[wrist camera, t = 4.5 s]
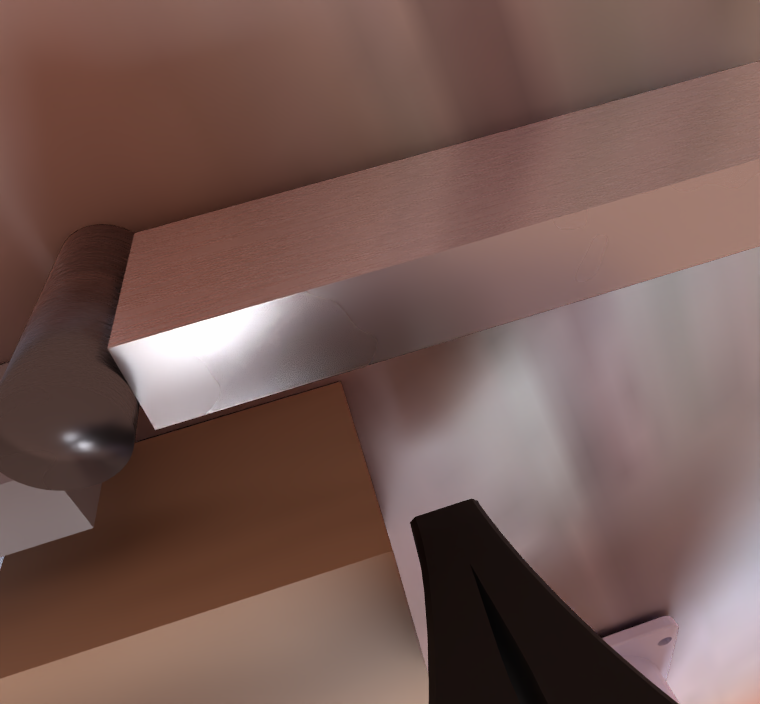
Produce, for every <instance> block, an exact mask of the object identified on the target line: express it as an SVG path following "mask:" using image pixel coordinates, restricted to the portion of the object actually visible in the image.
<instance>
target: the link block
mask: <svg viewBox="0 0 760 704" xmlns="http://www.w3.org/2000/svg"><path fill="white" fill-rule="evenodd" d="M0 704H429V675H428V672H427V668H426V665H425V661H424V658H423V654H422V651H421V647H420V644H419V640H418V637H417V633H416V630H415V626H414V623H413V619H412V616H411V612H410V609H409V605H408V602H407V598H406V595H405V591H404V588H403V584H402V581H401V577H400V574H399V570H398V567H397V563H396V560H395V556H394V553H393V550H392V546H391V543H390V540H389V537H388V533H387V530H386V527H385V523H384V520H383V517H382V514H381V510H380V507H379V504H378V501H377V497H376V494H375V491H374V488H373V484H372V481H371V478H370V475H369V471H368V468H367V465H366V461H365V458H364V455H363V452H362V448H361V445H360V442H359V439H358V435H357V432H356V429H355V426H354V422H353V419H352V416H351V413H350V409H349V406H348V403H347V400H346V396H345V393H344V390H343V386H342V383H341V381H340V382H337V383H333V384H330V385H327V386H323V387H320V388H317V389H313V390H310V391H307V392H303V393H300V394H297V395H293V396H290V397H287V398H283V399H280V400H277V401H273V402H270V403H267V404H263V405H260V406H256V407H253V408H250V409H246V410H243V411H240V412H236V413H233V414H230V415H226V416H223V417H220V418H216V419H213V420H210V421H206V422H203V423H200V424H196V425H193V426H190V427H186V428H183V429H180V430H176V431H173V432H170V433H166V434H163V435H160V436H156V437H153V438H150V439H146V440H143V441H140V442H136V443H134V449H133V452H132V455H131V457H130V460H129V461H128V463H127V464H126V466H125V467H124V468H123V469H122V470H121V471H120V472H119V473H117V474H116V475H115V476H113V477H112V478H110V479H109V480H107V481H105V482H103V483H102V486H101V491H100V496H99V502H98V507H97V513H96V518H95V523H94V528H92V529H88V530H85V531H82V532H79V533H76V534H73V535H69V536H66V537H63V538H60V539H57V540H54V541H50V542H47V543H44V544H41V545H38V546H34V547H31V548H28V549H25V550H22V551H19V552H15V553H12V554H9V555H6V556H5V557H4V560H3V563H2V566H1V569H0Z"/></svg>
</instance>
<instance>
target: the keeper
mask: <svg viewBox="0 0 760 704" xmlns="http://www.w3.org/2000/svg"><path fill="white" fill-rule="evenodd" d="M759 246H760V61H757V62H753V63H750V64H746V65H742V66H739V67H735V68H732V69H728V70H724V71H721V72H717V73H713V74H710V75H706V76H703V77H699V78H695V79H692V80H688V81H684V82H681V83H677V84H674V85H670V86H666V87H663V88H659V89H655V90H652V91H648V92H645V93H641V94H637V95H634V96H630V97H626V98H623V99H619V100H616V101H612V102H608V103H605V104H601V105H597V106H594V107H590V108H587V109H583V110H579V111H576V112H572V113H568V114H565V115H561V116H557V117H554V118H550V119H547V120H543V121H539V122H536V123H532V124H528V125H525V126H521V127H518V128H514V129H510V130H507V131H503V132H499V133H496V134H492V135H489V136H485V137H481V138H478V139H474V140H470V141H467V142H463V143H460V144H456V145H452V146H449V147H445V148H441V149H438V150H434V151H431V152H427V153H423V154H420V155H416V156H412V157H409V158H405V159H402V160H398V161H394V162H391V163H387V164H383V165H380V166H376V167H373V168H369V169H365V170H362V171H358V172H354V173H351V174H347V175H344V176H340V177H336V178H333V179H329V180H325V181H322V182H318V183H314V184H311V185H307V186H304V187H300V188H296V189H293V190H289V191H285V192H282V193H278V194H275V195H271V196H267V197H264V198H260V199H256V200H253V201H249V202H246V203H242V204H238V205H235V206H231V207H227V208H224V209H220V210H217V211H213V212H209V213H206V214H202V215H198V216H195V217H191V218H188V219H184V220H180V221H177V222H173V223H169V224H166V225H162V226H159V227H155V228H151V229H148V230H144V231H140V232H137V233H132V232H130V231H128V230H126V229H123V228H120V227H117V226H111V225H93V226H88V227H85V228H82V229H80V230H78V231H76V232H75V233H73V234H72V235H71V236H70V237H69V238H68V239H67V240H66V241H65V243H64V244H63V246H62V248H61V250H60V253H59V255H58V257H57V259H56V261H55V263H54V266H53V268H52V270H51V272H50V274H49V277H48V279H47V281H46V283H45V285H44V288H43V290H42V292H41V294H40V296H39V298H38V301H37V303H36V305H35V307H34V309H33V312H32V314H31V316H30V318H29V320H28V323H27V325H26V327H25V329H24V331H23V333H22V336H21V338H20V340H19V342H18V344H17V347H16V349H15V351H14V353H13V355H12V357H11V360H10V362H9V364H8V366H7V368H6V371H5V373H4V375H3V377H2V379H1V382H0V472H1V473H2V474H4V475H5V476H7V477H9V478H10V479H12V480H14V481H16V482H19V483H21V484H24V485H27V486H30V487H34V488H38V489H44V490H53V491H69V490H78V489H84V488H88V487H92V486H95V485H98V484H100V483H103V482H105V481H107V480H109V479H110V478H112V477H113V476H115V475H116V474H117V473H119V472H120V471H121V470H122V469H123V468H124V467H125V466H126V464H127V463H128V461H129V460H130V457H131V455H132V452H133V449H134V442H135V435H136V428H137V420H138V413H139V406H140V405H141V407H142V408H143V410H144V412H145V413H146V415H147V417H148V419H149V420H150V422H151V424H152V425H153V427H154V429H155V430H157V429H161V428H164V427H167V426H170V425H174V424H177V423H180V422H184V421H187V420H190V419H193V418H197V417H200V416H203V415H207V414H210V413H213V412H216V411H220V410H223V409H226V408H230V407H233V406H236V405H239V404H243V403H246V402H249V401H253V400H256V399H259V398H262V397H266V396H269V395H272V394H276V393H279V392H282V391H285V390H289V389H292V388H295V387H299V386H302V385H305V384H308V383H312V382H315V381H318V380H322V379H325V378H328V377H331V376H335V375H338V374H341V373H345V372H348V371H351V370H354V369H358V368H361V367H364V366H368V365H371V364H374V363H377V362H381V361H384V360H387V359H391V358H394V357H397V356H400V355H404V354H407V353H410V352H414V351H417V350H420V349H423V348H427V347H430V346H433V345H437V344H440V343H443V342H446V341H450V340H453V339H456V338H460V337H463V336H466V335H469V334H473V333H476V332H479V331H483V330H486V329H489V328H492V327H496V326H499V325H502V324H506V323H509V322H512V321H515V320H519V319H522V318H525V317H529V316H532V315H535V314H538V313H542V312H545V311H548V310H552V309H555V308H558V307H561V306H565V305H568V304H571V303H575V302H578V301H581V300H584V299H588V298H591V297H594V296H598V295H601V294H604V293H607V292H611V291H614V290H617V289H621V288H624V287H627V286H630V285H634V284H637V283H640V282H644V281H647V280H650V279H653V278H657V277H660V276H663V275H667V274H670V273H673V272H676V271H680V270H683V269H686V268H690V267H693V266H696V265H699V264H703V263H706V262H709V261H713V260H716V259H719V258H722V257H726V256H729V255H732V254H736V253H739V252H742V251H745V250H749V249H752V248H755V247H759Z"/></svg>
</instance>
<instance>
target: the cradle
mask: <svg viewBox="0 0 760 704" xmlns="http://www.w3.org/2000/svg"><path fill="white" fill-rule="evenodd" d="M8 364H9V362H8V363H5V364H2V365H0V382H1V379H2V377H3V375H4V373H5V371H6V368H7V366H8ZM101 486H102V483H100V484H98V485H95V486H92V487H88V488H84V489H78V490H69V491H53V490H44V489H38V488H34V487H30V486H27V485H24V484H21V483H19V482H16V481H14V480H12V479H10V478H9V477H7V476H5V475H4V474H2V473H1V472H0V557H3V556H6V555H9V554H12V553H15V552H19V551H22V550H25V549H28V548H31V547H34V546H38V545H41V544H44V543H47V542H50V541H54V540H57V539H60V538H63V537H66V536H69V535H73V534H76V533H79V532H82V531H85V530H88V529H92V528H94V523H95V518H96V513H97V507H98V502H99V496H100V491H101Z"/></svg>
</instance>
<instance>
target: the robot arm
mask: <svg viewBox="0 0 760 704" xmlns="http://www.w3.org/2000/svg"><path fill="white" fill-rule="evenodd" d="M410 524H411V528H412V532H413V536H414V540H415V544H416V548H417V553H418V557H419V561H420V565H421V570H422V577H423V585H424V594H425V607H426V620H427V634H428V674H429V704H680V703H679V702H678V700H677V698H676V697H675V695H674V694H673V692H672V690H671V689H670V687H669V686H668V684H667V682H666V680H667V676H668V671H669V667H670V663H671V659H672V655H673V650H674V646H675V642H676V638H677V633H678V629H679V627H678V625H677V623H676V622H675V620H674V619H673V618H672V617H670V616H663V617H659V618H656V619H654V620H651V621H648V622H645V623H642V624H640V625H637V626H634V627H631V628H628V629H626V630H623V631H620V632H617V633H614V634H611V635H609V636H606V637H603V638H601V637H600V636H599V635H598V634H597V633H596V632H594V631H593V630H592V629H591V628H590V627H589V626H588V625H587V624H586V623H585V622H584V621H583V620H582V619H581V618H580V617H579V616H578V615H577V614H576V613H575V612H574V611H573V610H572V609H571V608H570V607H569V606H568V605H566V604H565V603H564V602H563V601H562V600H561V599H560V597H559V596H558V595H557V594H556V593H555V592H554V591H553V590H552V589H551V588H550V587H549V586H548V585H547V584H546V583H545V582H544V581H543V580H542V579H541V578H540V577H539V575H538V574H537V573H536V572H535V571H534V570H533V569H532V568H531V567H530V566H529V565H528V564H527V562H526V561H525V560H524V559H523V558H522V557H521V556H520V555H519V553H518V552H517V551H516V550H515V549H514V548H513V546H512V545H511V544H510V543H509V542H508V541H507V539H506V538H505V537H504V536H503V534H502V533H501V532H500V531H499V529H498V528H497V527H496V526H495V524H494V523H493V522H492V520H491V519H490V518H489V516H488V515H487V514H486V512H485V511H484V510H483V508H482V507H481V505H480V504H479V502H478V501H477V500H474V499H469V500H466V501H463V502H460V503H456V504H453V505H450V506H447V507H444V508H441V509H438V510H435V511H432V512H429V513H426V514H423V515H420V516H417V517H415V518H414V519H413V520H412V521H411V522H410Z"/></svg>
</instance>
